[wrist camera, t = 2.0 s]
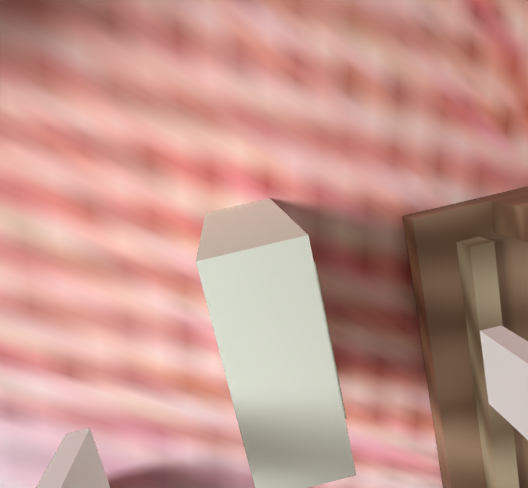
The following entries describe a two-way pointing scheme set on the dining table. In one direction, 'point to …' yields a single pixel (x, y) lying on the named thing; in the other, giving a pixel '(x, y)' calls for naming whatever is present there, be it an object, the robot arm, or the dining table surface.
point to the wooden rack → (470, 329)
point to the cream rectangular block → (275, 345)
